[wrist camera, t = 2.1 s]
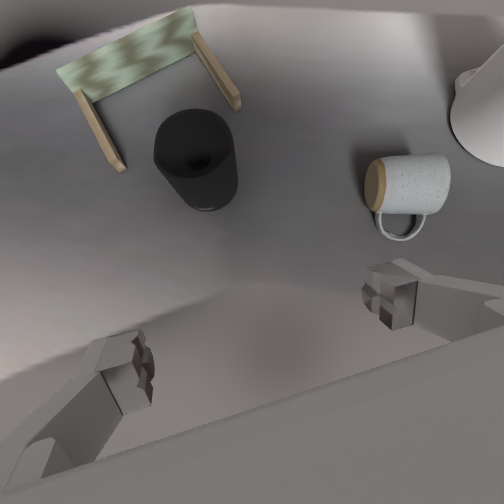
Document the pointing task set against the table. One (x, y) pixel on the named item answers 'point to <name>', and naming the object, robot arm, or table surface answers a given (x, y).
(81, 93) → the corral
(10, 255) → the table surface
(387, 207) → the ceramic mug
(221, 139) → the pen holder
